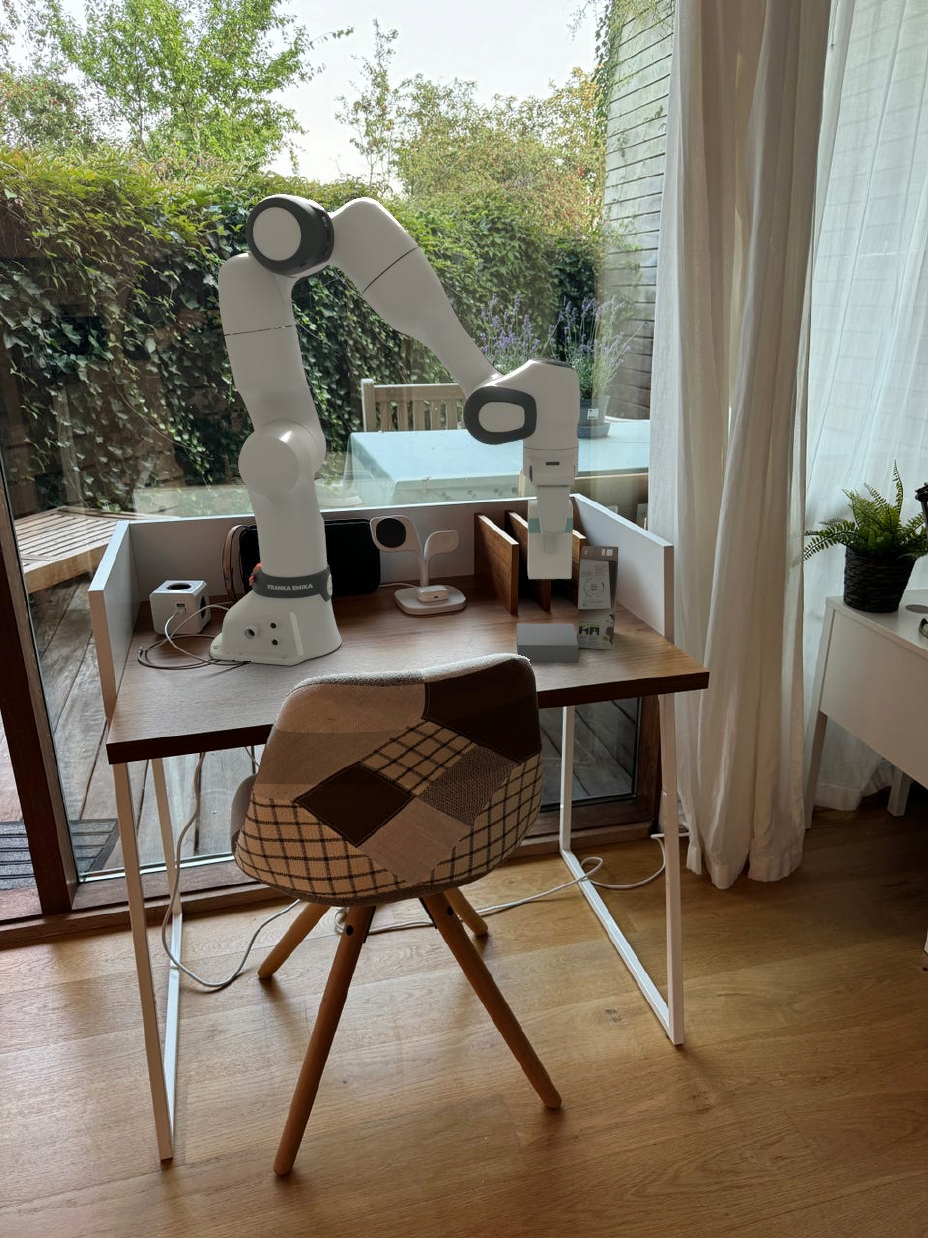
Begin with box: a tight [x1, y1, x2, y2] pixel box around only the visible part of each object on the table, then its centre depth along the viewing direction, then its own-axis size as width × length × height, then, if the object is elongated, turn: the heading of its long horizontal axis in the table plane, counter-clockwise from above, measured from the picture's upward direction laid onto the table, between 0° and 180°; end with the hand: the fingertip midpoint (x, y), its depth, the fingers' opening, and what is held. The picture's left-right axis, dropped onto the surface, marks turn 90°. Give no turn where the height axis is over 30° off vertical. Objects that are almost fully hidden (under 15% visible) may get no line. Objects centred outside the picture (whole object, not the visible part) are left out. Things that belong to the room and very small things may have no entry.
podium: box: [516, 623, 579, 663], centre depth 151 cm, size 10×10×3 cm
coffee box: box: [576, 545, 619, 651], centre depth 153 cm, size 9×6×16 cm
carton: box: [527, 499, 574, 580], centre depth 144 cm, size 7×5×12 cm
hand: (549, 547), depth 145 cm, fingers closed on carton, 5 cm apart
